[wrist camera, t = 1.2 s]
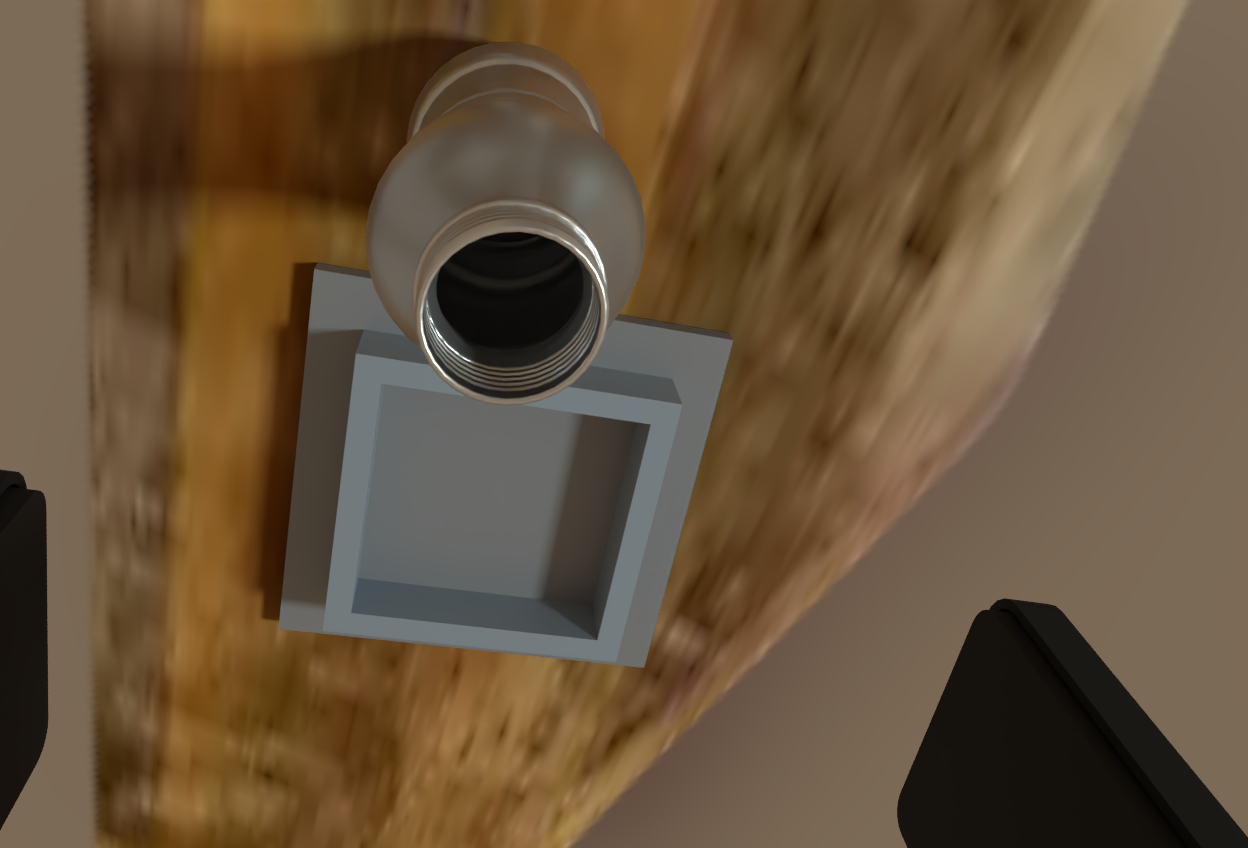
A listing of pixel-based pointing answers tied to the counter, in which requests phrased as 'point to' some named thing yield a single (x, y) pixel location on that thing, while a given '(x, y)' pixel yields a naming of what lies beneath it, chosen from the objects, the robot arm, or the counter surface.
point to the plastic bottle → (506, 226)
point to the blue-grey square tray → (490, 489)
